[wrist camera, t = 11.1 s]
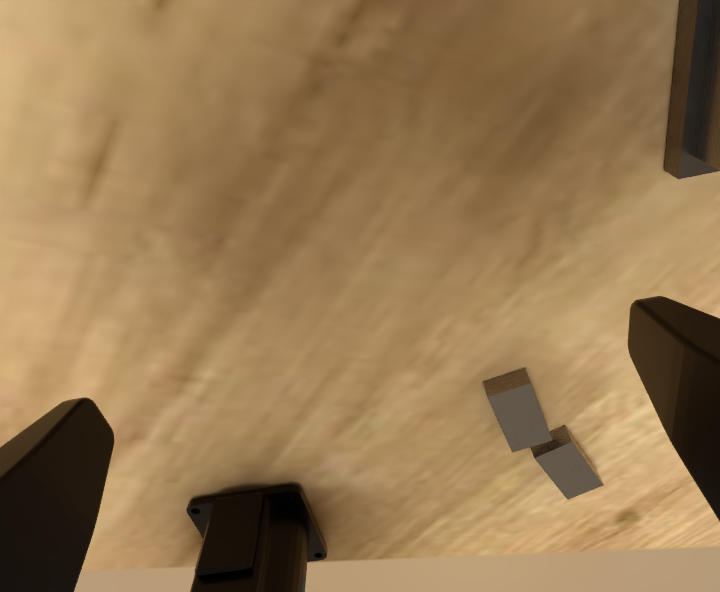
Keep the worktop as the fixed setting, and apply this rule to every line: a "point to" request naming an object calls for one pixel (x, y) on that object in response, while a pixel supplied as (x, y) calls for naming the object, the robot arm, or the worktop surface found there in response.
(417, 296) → the worktop surface
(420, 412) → the worktop surface
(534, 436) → the grey topped wooden tile
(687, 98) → the keeper
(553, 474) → the wood sided gray block
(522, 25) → the worktop surface
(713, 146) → the hollow square frame
